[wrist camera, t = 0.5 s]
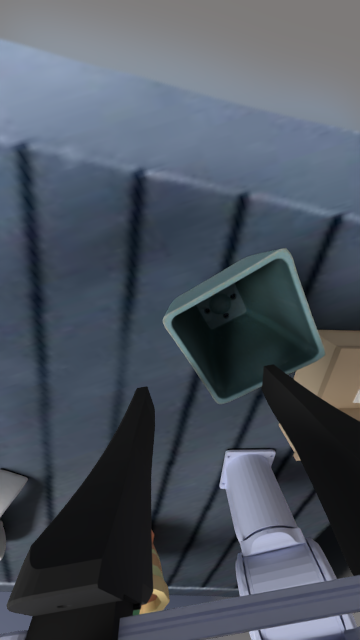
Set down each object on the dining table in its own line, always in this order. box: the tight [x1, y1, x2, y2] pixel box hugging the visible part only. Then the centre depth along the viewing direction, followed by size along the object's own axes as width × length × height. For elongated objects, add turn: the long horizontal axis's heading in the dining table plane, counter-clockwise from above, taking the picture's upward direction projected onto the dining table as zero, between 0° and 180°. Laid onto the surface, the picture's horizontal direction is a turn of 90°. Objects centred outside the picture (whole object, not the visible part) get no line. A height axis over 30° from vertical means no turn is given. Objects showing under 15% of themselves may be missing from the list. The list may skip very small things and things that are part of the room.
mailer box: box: [279, 330, 360, 452], centre depth 24 cm, size 16×11×4 cm
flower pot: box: [163, 248, 325, 404], centre depth 17 cm, size 9×9×9 cm
